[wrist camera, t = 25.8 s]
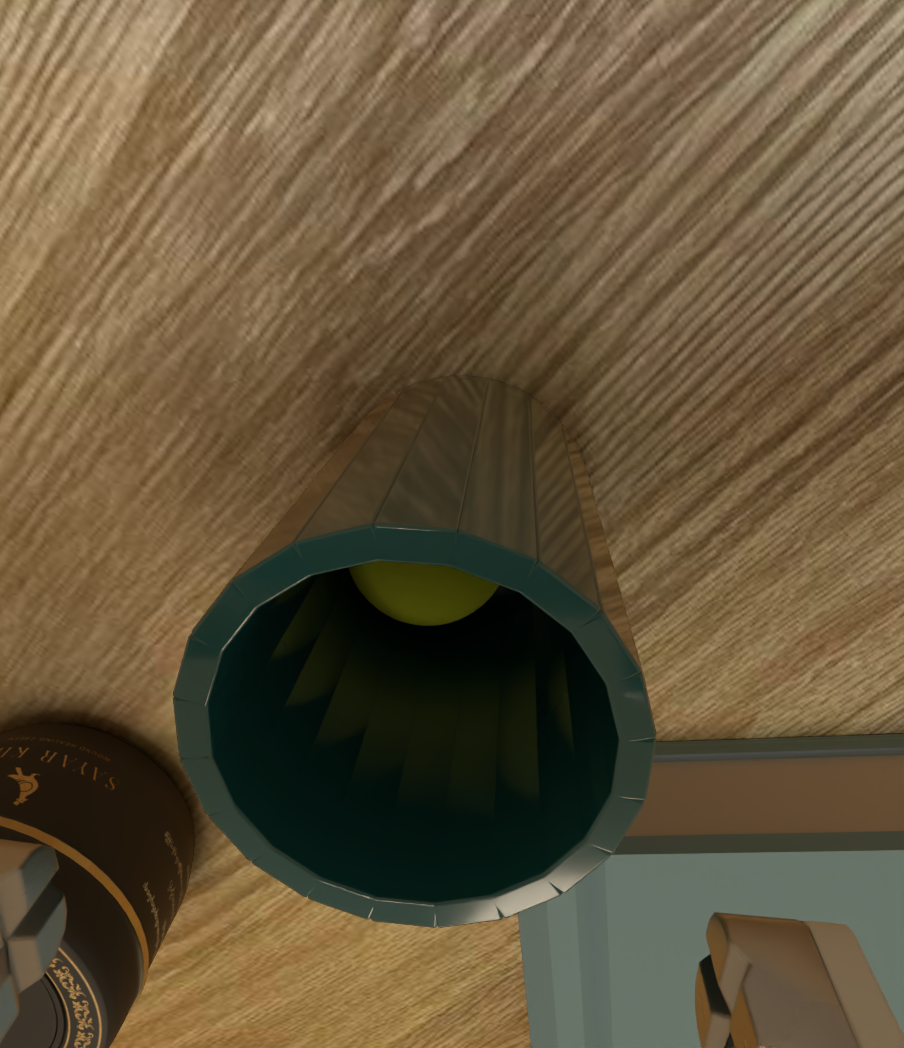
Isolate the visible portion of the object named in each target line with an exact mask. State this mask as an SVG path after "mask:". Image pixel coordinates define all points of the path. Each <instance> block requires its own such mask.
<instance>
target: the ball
mask: <svg viewBox="0 0 904 1048" xmlns="http://www.w3.org/2000/svg"><path fill="white" fill-rule="evenodd" d="M349 571H350V574H351V576H352V578H353V581H354V582H355V584H356V586H357V588H358V589H359V590H360V592H361V593H362V595H363V596H364V597H365V598H366V599H367V600H368V601H369V602H370V603H371V604H372V605H373V606H374V607H376V608H377V609H378V610H380V611H381V612H383V613H384V614H386V615H387V616H389V617H391V618H393V619H396V620H398V621H401V622H404V623H409V624H413V625H420V626H434V625H442V624H447V623H451V622H454V621H457V620H460V619H462V618H464V617H466V616H467V615H469V614H471V613H473V612H474V611H476V610H477V609H478V608H480V607H481V606H482V605H483V604H484V603H486V601H487V600H488V599H489V598H490V597H491V596H492V595H493V593H494V592H495V591H496V589H497V588H498V586H499V585H498V584H495V583H493V582H490V581H487V580H485V579H482V578H480V577H477V576H474V575H472V574H469V573H466V572H464V571H461V570H458V569H456V568H453V567H450V566H440V565H427V564H414V563H401V562H388V561H376V562H371V563H367V564H362V565H358V566H353V567H349Z"/></svg>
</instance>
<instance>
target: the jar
mask: <svg viewBox="0 0 904 1048" xmlns="http://www.w3.org/2000/svg"><path fill="white" fill-rule="evenodd" d="M0 839H3V840H11V841H19V842H26V843H34V844H42V845H46V846H50V847H54V849H55V853H56V857H57V861H58V865H59V869H58V870H57V872H56V873H55V875H54V876H53V877H52V879H51V881H52V882H53V883H54V884H55V885H56V887H57V888H58V889H59V890H60V891H61V892H62V893H63V894H64V895H65V901H66V906H67V917H66V929H65V932H64V935H63V937H62V940H61V943H60V946H59V949H58V952H57V954H56V956H55V958H54V959H53V961H52V963H51V964H50V966H49V968H48V969H47V971H46V973H45V974H44V976H43V977H42V978H41V979H39V980H38V981H37V982H35V983H34V984H32V985H31V986H29V987H28V988H26V989H25V990H23V991H22V992H20V993H19V1009H20V1013H19V1015H18V1017H17V1018H16V1020H15V1021H14V1023H13V1024H12V1026H11V1027H10V1029H9V1031H8V1032H7V1034H6V1035H5V1037H4V1038H3V1040H2V1041H1V1043H0V1048H109V1047H110V1045H111V1044H112V1042H113V1040H114V1039H115V1037H116V1035H117V1033H118V1032H119V1030H120V1028H121V1026H122V1024H123V1022H124V1020H125V1018H126V1016H127V1015H128V1014H129V1013H130V1012H131V1010H132V1009H133V1007H134V1006H135V1004H136V1002H137V1001H138V999H139V997H140V995H141V993H142V990H143V988H144V985H145V982H146V980H147V974H148V969H149V967H150V965H151V963H152V961H153V959H154V957H155V955H156V953H157V951H158V949H159V947H160V945H161V943H162V941H163V939H164V937H165V935H166V933H167V931H168V929H169V927H170V925H171V923H172V921H173V919H174V917H175V915H176V913H177V911H178V909H179V907H180V905H181V903H182V900H183V898H184V895H185V893H186V889H187V886H188V882H189V877H190V872H191V866H192V861H193V855H194V847H195V836H194V828H193V823H192V819H191V816H190V813H189V810H188V808H187V806H186V804H185V801H184V799H183V797H182V795H181V793H180V791H179V789H178V788H177V786H176V785H175V783H174V782H173V780H172V779H171V778H170V776H169V775H168V774H167V773H166V772H165V771H164V770H163V768H162V767H161V766H160V765H159V764H158V763H156V762H155V761H154V760H153V759H152V758H151V757H149V756H148V755H147V754H146V753H144V752H143V751H141V750H140V749H139V748H137V747H135V746H134V745H132V744H130V743H129V742H127V741H125V740H123V739H121V738H119V737H117V736H115V735H112V734H110V733H107V732H104V731H101V730H98V729H95V728H91V727H87V726H82V725H75V724H63V723H43V724H32V725H27V726H22V727H18V728H15V729H12V730H9V731H7V732H4V733H2V734H0Z"/></svg>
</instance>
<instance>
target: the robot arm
mask: <svg viewBox="0 0 904 1048" xmlns="http://www.w3.org/2000/svg"><path fill="white" fill-rule="evenodd" d="M58 869H59V865H58V861H57V857H56V853H55V849H54V847H50V846H46V845H42V844H34V843H26V842H19V841H11V840H3V839H0V1043H1V1041H2V1040H3V1038H4V1037H5V1035H6V1034H7V1032H8V1031H9V1029H10V1027H11V1026H12V1024H13V1023H14V1021H15V1020H16V1018H17V1017H18V1015H19V1013H20V1009H19V993H20V992H22V991H23V990H25V989H26V988H28V987H29V986H31V985H32V984H34V983H35V982H37V981H38V980H39V979H41V978H42V977H43V976H44V974H45V973H46V971H47V969H48V968H49V966H50V964H51V963H52V961H53V959H54V958H55V956H56V954H57V952H58V949H59V946H60V943H61V940H62V937H63V935H64V932H65V929H66V917H67V906H66V901H65V895H64V894H63V893H62V892H61V891H60V890H59V889H58V888H57V887H56V885H55V884H54V883H53V882H52V881H51V879H52V877H53V876H54V875H55V873H56V872H57V870H58ZM706 939H707V943H708V947H709V951H710V954H709V955H708V956H707V957H705V958H704V959H703V960H701V961H700V962H699V966H698V971H697V976H696V981H695V1013H696V1021H697V1029H698V1034H699V1039H700V1043H701V1048H904V1035H903V1033H902V1031H901V1029H900V1027H899V1024H898V1022H897V1020H896V1018H895V1016H894V1014H893V1012H892V1010H891V1008H890V1006H889V1004H888V1002H887V1000H886V998H885V996H884V994H883V992H882V989H881V987H880V985H879V983H878V981H877V979H876V977H875V975H874V973H873V971H872V969H871V967H870V965H869V963H868V961H867V959H866V957H865V954H864V952H863V950H862V948H861V946H860V944H859V942H858V940H857V938H856V936H855V934H854V932H853V931H852V930H851V929H850V928H849V927H848V926H847V925H846V924H835V923H825V922H815V921H804V920H801V921H798V920H796V919H787V918H776V917H765V916H753V915H742V914H731V913H720V912H714V913H713V915H712V916H711V918H710V919H709V923H708V927H707V931H706Z"/></svg>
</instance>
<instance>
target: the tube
mask: <svg viewBox="0 0 904 1048" xmlns="http://www.w3.org/2000/svg"><path fill="white" fill-rule="evenodd" d="M376 561H388V562H401V563H414V564H427V565H440V566H450V567H453V568H456V569H458V570H461V571H464V572H466V573H469V574H472V575H474V576H477V577H480V578H482V579H485V580H487V581H490V582H493V583H495V584H498V585H499V586H498V588H497V589H496V591H495V592H494V593H493V595H492V596H491V597H490V598H489V599H488V600H487V601H486V603H484V604H483V605H482V606H481V607H480V608H478V609H477V610H476V611H474V612H473V613H471V614H469V615H467V616H466V617H464V618H462V619H460V620H457V621H454V622H451V623H447V624H442V625H434V626H420V625H413V624H409V623H404V622H401V621H398V620H396V619H393V618H391V617H389V616H387V615H386V614H384V613H383V612H381V611H380V610H378V609H377V608H376V607H374V606H373V605H372V604H371V603H370V602H369V601H368V600H367V599H366V598H365V597H364V596H363V595H362V593H361V592H360V590H359V589H358V588H357V586H356V584H355V582H354V581H353V578H352V576H351V574H350V571H349V567H353V566H358V565H362V564H367V563H371V562H376ZM173 696H174V697H173V704H174V713H175V722H176V731H177V740H178V750H179V756H180V761H181V763H182V765H183V768H184V770H185V772H186V774H187V776H188V778H189V780H190V782H191V784H192V786H193V788H194V790H195V792H196V795H197V797H198V799H199V801H200V803H201V805H202V807H203V809H204V811H205V813H206V814H209V818H210V819H211V820H212V821H213V822H214V823H215V824H216V825H217V826H218V827H219V829H220V830H221V831H222V832H223V833H224V834H225V835H226V836H227V837H228V838H229V839H230V841H231V842H232V843H233V844H234V845H235V846H236V847H237V848H238V849H239V850H240V851H241V853H242V854H243V855H244V856H245V857H246V858H247V859H248V860H249V861H252V863H253V864H254V865H255V866H257V867H258V868H260V869H261V870H263V871H265V872H266V873H268V874H269V875H271V876H272V877H274V878H275V879H277V880H279V881H280V882H282V883H283V884H285V885H286V886H288V887H289V888H291V889H293V890H294V891H296V892H297V893H299V894H300V895H302V896H304V897H307V896H308V898H309V899H310V900H312V901H315V902H318V903H321V904H324V905H327V906H330V907H332V908H335V909H338V910H341V911H344V912H347V913H350V914H353V915H355V916H358V917H361V918H364V919H370V918H371V920H372V921H376V922H385V923H395V924H404V925H414V926H423V927H433V928H435V927H437V926H438V927H440V928H442V927H450V926H457V925H465V924H472V923H480V922H488V921H495V920H501V919H502V918H503V917H504V918H508V917H510V916H512V915H515V914H517V913H520V912H522V911H525V910H527V909H530V908H532V907H534V906H537V905H539V904H542V903H544V902H547V901H549V900H552V899H554V898H556V897H559V896H561V895H562V893H566V892H568V891H569V890H570V889H571V888H572V887H574V886H575V885H576V884H577V883H579V882H580V881H581V880H582V879H584V878H585V877H586V876H587V875H588V874H590V873H591V872H592V871H593V870H595V869H596V868H597V867H598V866H600V865H601V864H602V863H603V862H605V861H606V860H607V859H608V858H609V857H610V856H611V854H612V853H614V852H615V850H616V849H617V847H618V846H619V844H620V842H621V841H622V839H623V837H624V836H625V834H626V833H627V831H628V829H629V828H630V826H631V824H632V823H633V821H634V820H635V818H636V816H637V815H638V813H639V811H640V810H641V808H642V806H643V805H644V800H645V799H646V797H647V792H648V787H649V781H650V775H651V770H652V764H653V758H654V753H655V747H656V738H655V737H656V729H655V725H654V720H653V716H652V711H651V706H650V702H649V697H648V692H647V688H646V683H645V678H644V674H643V671H642V667H641V663H640V660H639V656H638V653H637V649H636V645H635V642H634V638H633V635H632V631H631V627H630V624H629V620H628V617H627V613H626V609H625V606H624V602H623V599H622V595H621V591H620V588H619V584H618V581H617V577H616V573H615V570H614V566H613V563H612V559H611V555H610V552H609V548H608V545H607V541H606V537H605V534H604V530H603V527H602V523H601V520H600V516H599V512H598V509H597V505H596V502H595V498H594V494H593V491H592V487H591V484H590V480H589V476H588V473H587V469H586V466H585V462H584V460H583V457H582V455H581V453H580V452H579V449H578V447H577V445H576V444H575V442H574V440H573V438H572V436H571V435H570V433H569V432H568V430H567V429H566V428H565V426H564V425H563V424H562V423H561V421H560V420H559V419H558V418H557V417H556V416H555V415H554V414H553V413H552V412H551V411H550V410H549V409H548V408H547V407H546V406H544V405H543V404H542V403H540V402H539V401H538V400H536V399H535V398H534V397H532V396H530V395H529V394H527V393H525V392H523V391H522V390H520V389H518V388H515V387H513V386H510V385H508V384H505V383H503V382H499V381H496V380H492V379H488V378H483V377H475V376H446V377H438V378H432V379H429V380H425V381H422V382H418V383H415V384H413V385H411V386H408V387H406V388H404V389H401V390H400V391H398V392H396V393H395V394H393V395H391V396H390V397H388V398H386V399H385V400H384V401H383V402H381V403H380V404H379V405H378V406H376V407H375V408H374V409H372V410H371V411H370V412H369V413H368V414H367V415H366V416H365V418H364V419H363V420H362V421H361V422H360V424H359V425H358V426H357V427H356V429H355V430H354V431H353V432H352V433H351V435H350V436H349V437H348V438H347V439H346V441H345V442H344V443H343V444H342V446H341V447H340V448H339V449H338V450H337V452H336V453H335V454H334V455H333V456H332V458H331V459H330V460H329V461H328V463H327V464H326V465H325V466H324V467H323V469H322V470H321V471H320V472H319V473H318V475H317V476H316V477H315V478H314V480H313V481H312V482H311V483H310V484H309V486H308V487H307V488H306V489H305V490H304V492H303V493H302V494H301V495H300V497H299V498H298V499H297V500H296V501H295V503H294V504H293V505H292V506H291V507H290V509H289V510H288V511H287V512H286V514H285V515H284V516H283V517H282V518H281V520H280V521H279V522H278V523H277V524H276V526H275V527H274V528H273V529H272V531H271V532H270V533H269V534H268V535H267V537H266V538H265V539H264V540H263V541H262V543H261V544H260V545H259V546H258V548H257V549H256V550H255V551H254V552H253V554H252V555H251V556H250V557H249V558H248V560H247V561H246V562H245V563H244V564H243V566H242V567H241V568H240V569H239V571H238V572H237V573H236V574H235V575H234V577H233V578H232V579H231V580H230V581H229V583H228V584H227V585H226V587H225V588H224V589H223V591H222V592H221V593H220V594H219V596H218V597H217V598H216V600H215V601H214V602H213V604H212V605H211V606H210V608H209V609H208V610H207V611H206V613H205V614H204V615H203V617H202V618H201V619H200V621H199V622H198V623H197V625H196V626H195V627H194V628H193V630H192V633H191V634H190V636H189V637H188V640H187V644H186V648H185V651H184V655H183V659H182V662H181V666H180V670H179V673H178V677H177V681H176V684H175V688H174V692H173Z"/></svg>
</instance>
